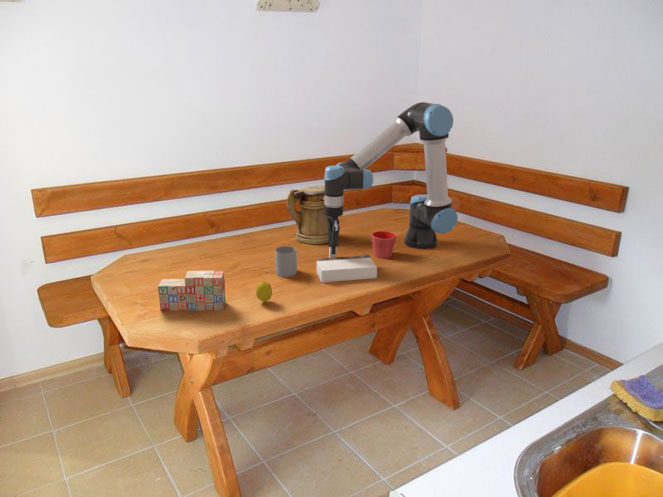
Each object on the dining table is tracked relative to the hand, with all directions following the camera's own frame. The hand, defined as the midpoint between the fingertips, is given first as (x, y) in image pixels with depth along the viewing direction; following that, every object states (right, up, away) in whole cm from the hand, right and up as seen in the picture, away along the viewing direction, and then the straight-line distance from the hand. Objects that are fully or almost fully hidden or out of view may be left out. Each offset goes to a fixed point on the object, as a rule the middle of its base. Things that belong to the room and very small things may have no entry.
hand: (332, 260), depth 220 cm
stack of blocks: (-48, -15, -35) cm, 62 cm away
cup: (-19, -5, -6) cm, 20 cm away
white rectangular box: (+5, -6, -8) cm, 12 cm away
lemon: (-24, -14, -32) cm, 42 cm away
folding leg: (+5, -3, -1) cm, 6 cm away
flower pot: (+22, +2, +13) cm, 26 cm away
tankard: (-10, +9, +33) cm, 35 cm away
